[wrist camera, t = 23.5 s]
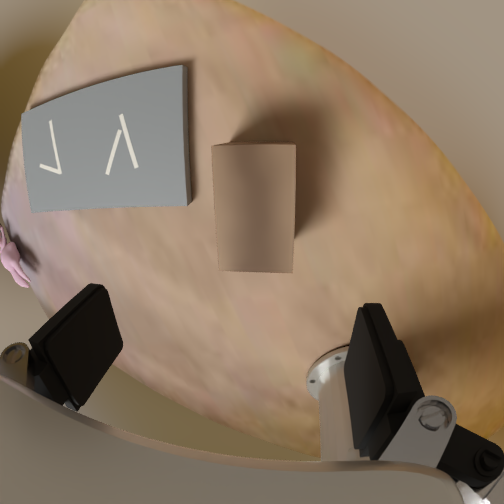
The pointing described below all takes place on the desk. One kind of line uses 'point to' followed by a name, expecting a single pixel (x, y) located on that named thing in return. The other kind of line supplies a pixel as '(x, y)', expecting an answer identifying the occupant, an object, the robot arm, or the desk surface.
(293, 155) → the block
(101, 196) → the slate board
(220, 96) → the desk surface
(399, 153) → the desk surface
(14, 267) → the pink plastic figure
